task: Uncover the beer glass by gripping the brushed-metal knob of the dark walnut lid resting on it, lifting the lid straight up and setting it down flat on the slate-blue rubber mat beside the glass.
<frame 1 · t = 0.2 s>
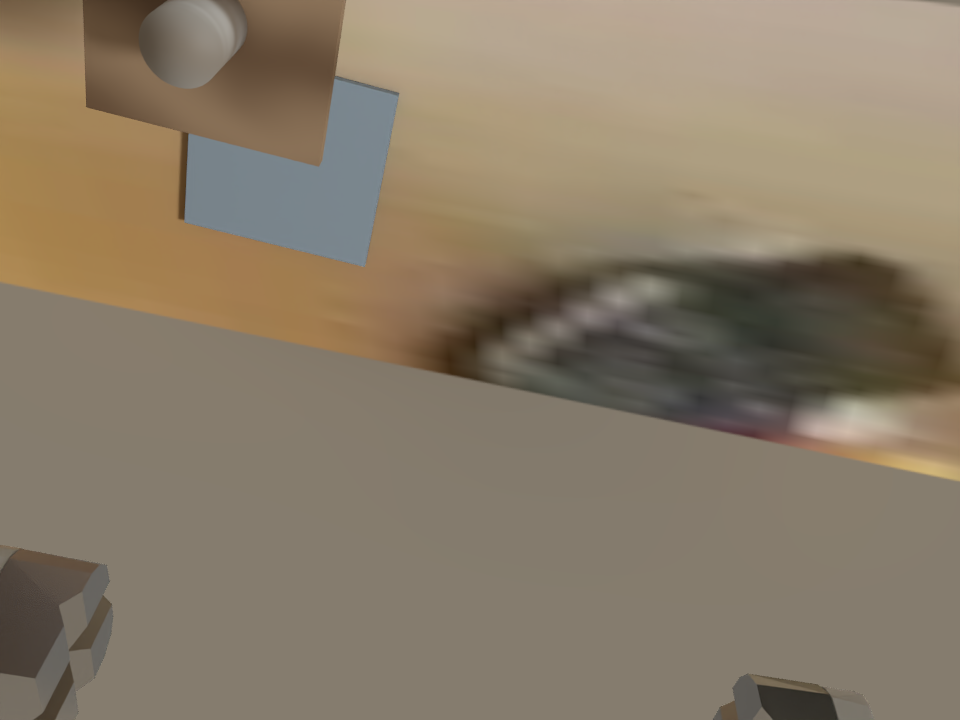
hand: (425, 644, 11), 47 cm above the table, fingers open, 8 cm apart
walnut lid: (216, 15, 38), point 15 cm above the table, touching beer glass
slate mat: (287, 159, 58), on the table
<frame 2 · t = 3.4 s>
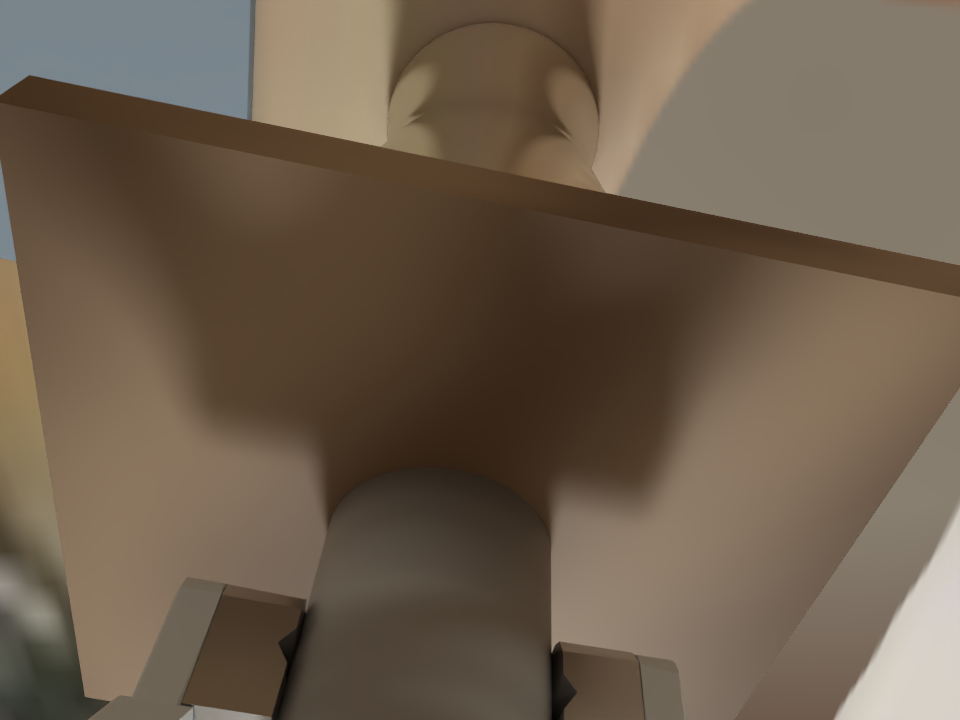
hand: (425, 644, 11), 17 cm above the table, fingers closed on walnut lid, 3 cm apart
beer glass: (493, 126, 25), on the table, touching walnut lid
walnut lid: (444, 507, 13), point 15 cm above the table, touching beer glass, gripper
slate mat: (26, 66, 25), on the table
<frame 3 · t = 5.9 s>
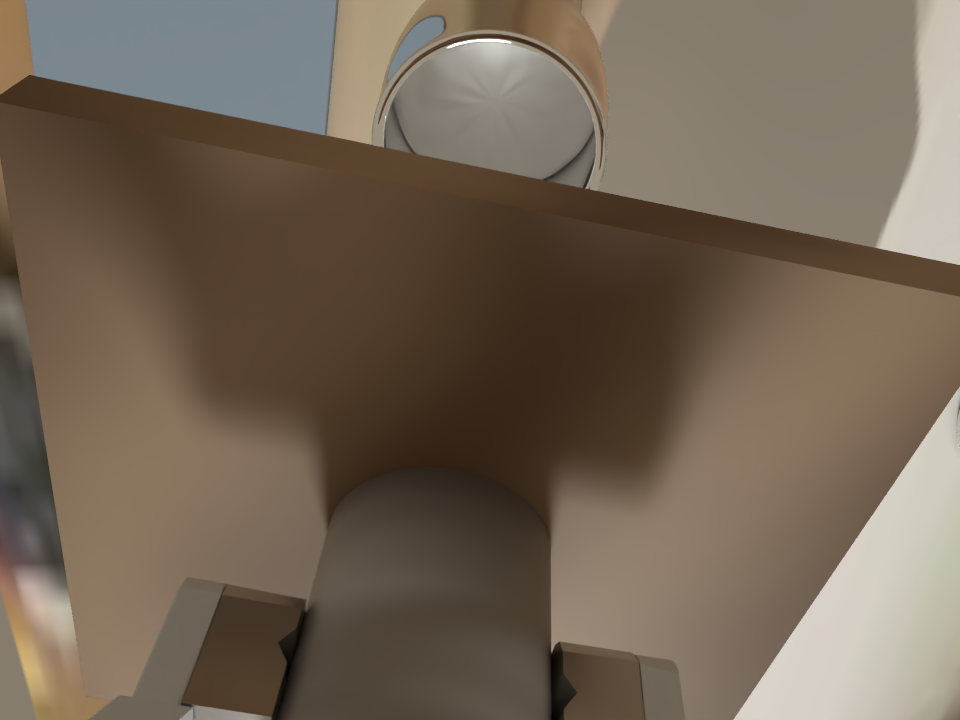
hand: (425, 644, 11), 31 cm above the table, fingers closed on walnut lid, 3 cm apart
beer glass: (507, 6, 36), on the table
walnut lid: (444, 507, 13), point 28 cm above the table, touching gripper
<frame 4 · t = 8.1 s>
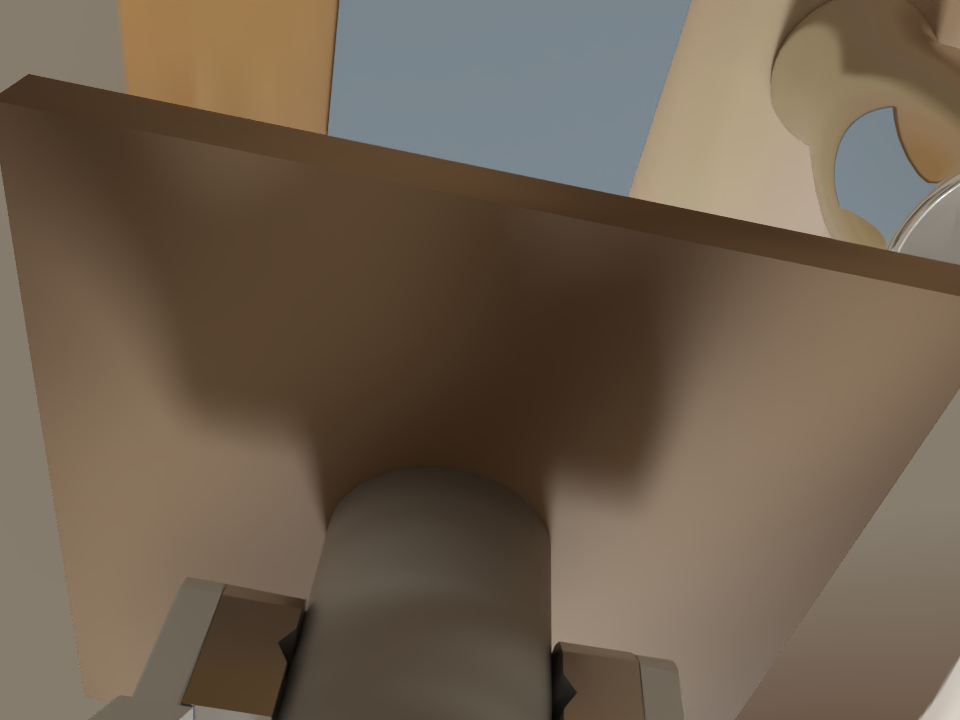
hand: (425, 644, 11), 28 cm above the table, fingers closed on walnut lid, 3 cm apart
beer glass: (848, 70, 34), on the table
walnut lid: (444, 507, 13), point 26 cm above the table, touching gripper
slate mat: (507, 25, 33), on the table
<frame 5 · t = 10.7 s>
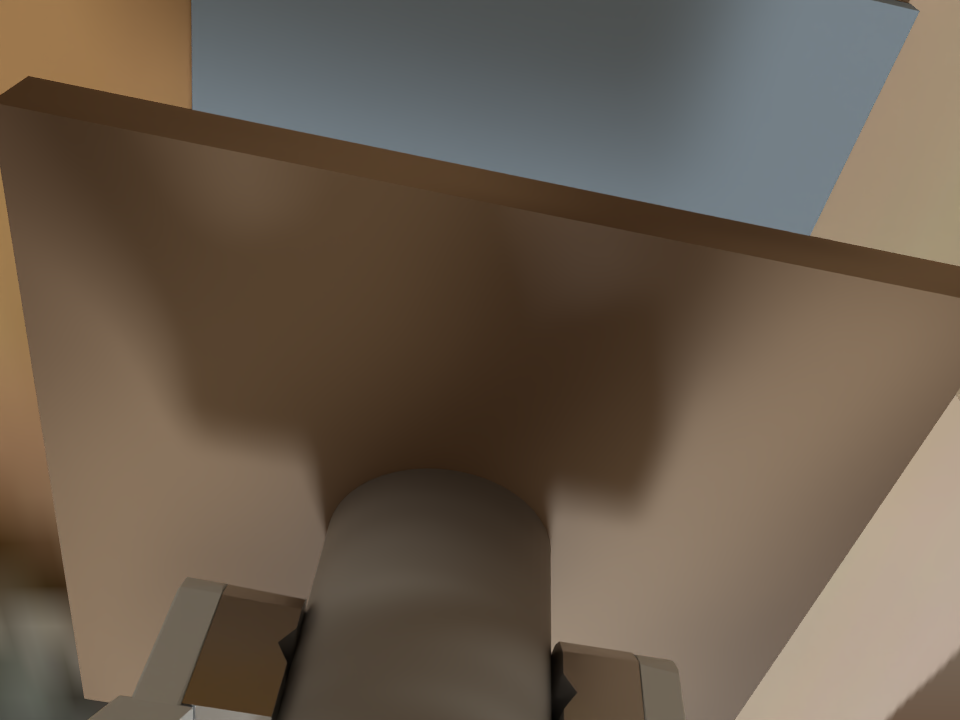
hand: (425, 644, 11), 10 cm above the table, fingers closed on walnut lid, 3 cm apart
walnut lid: (444, 509, 13), point 8 cm above the table, touching gripper
slate mat: (491, 237, 19), on the table
when the fingers open (5 cm above the table, at t = 12.8 s): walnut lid drops 2 cm, resting on slate mat.
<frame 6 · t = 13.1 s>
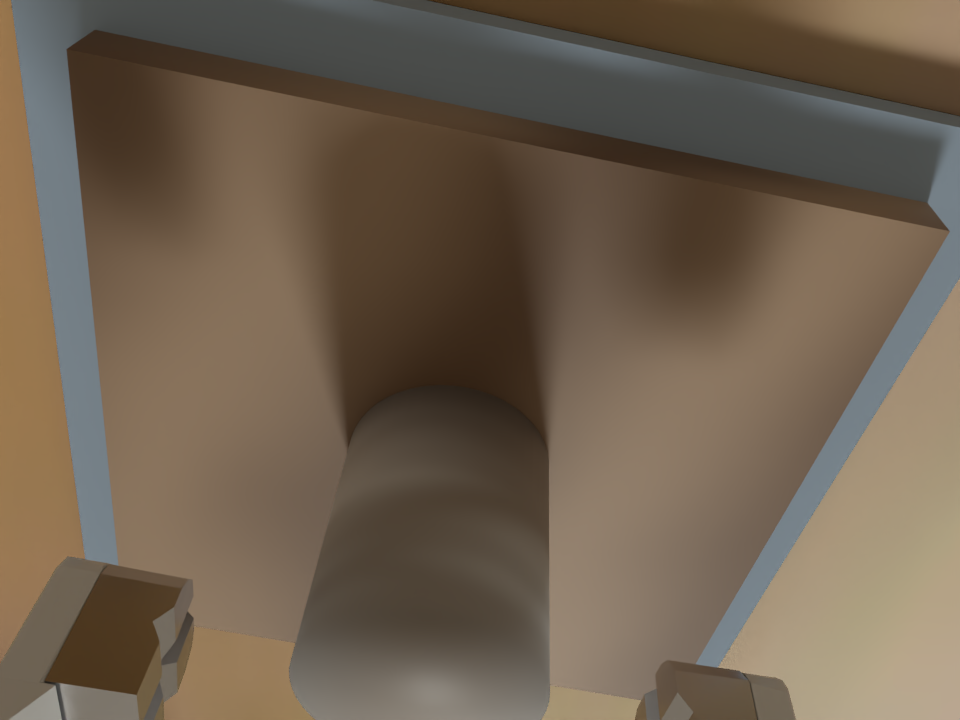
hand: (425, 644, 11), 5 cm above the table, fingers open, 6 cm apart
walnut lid: (452, 430, 14), resting on slate mat
slate mat: (454, 408, 15), on the table
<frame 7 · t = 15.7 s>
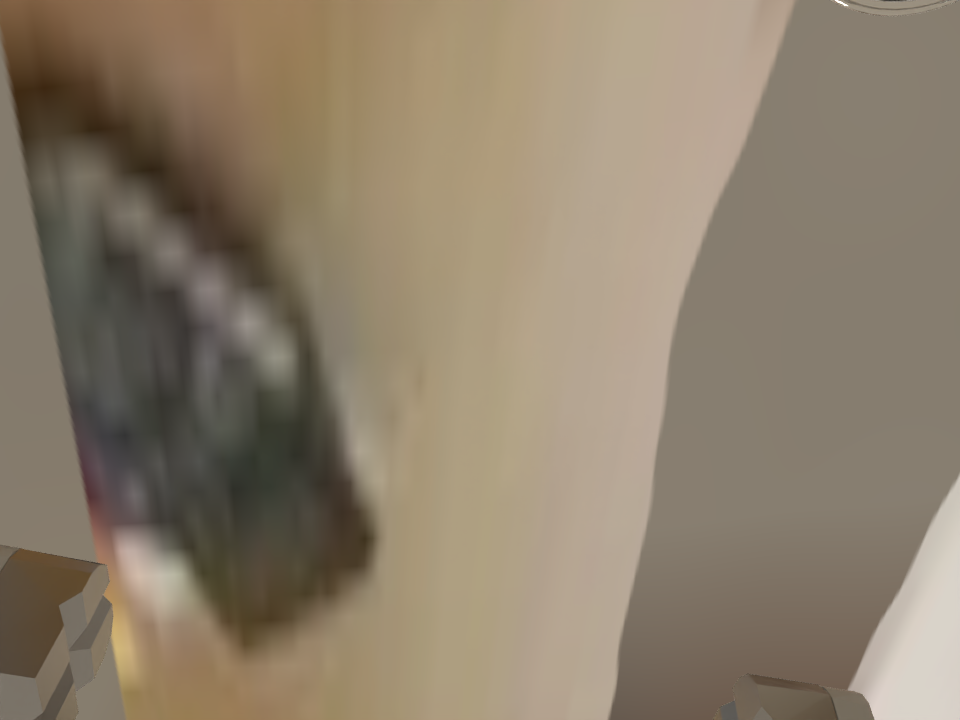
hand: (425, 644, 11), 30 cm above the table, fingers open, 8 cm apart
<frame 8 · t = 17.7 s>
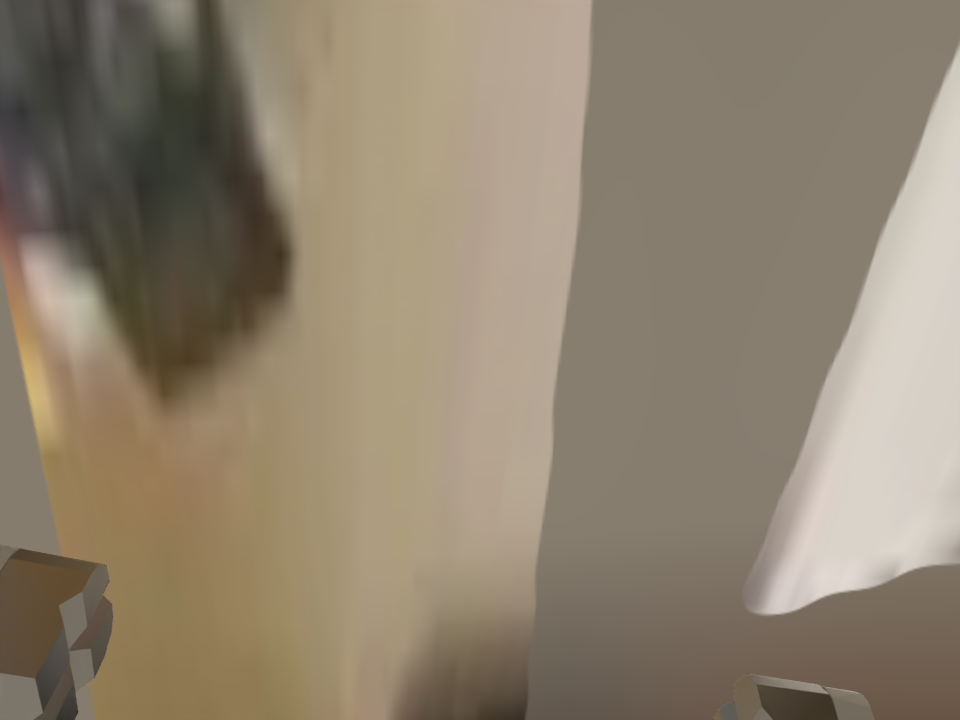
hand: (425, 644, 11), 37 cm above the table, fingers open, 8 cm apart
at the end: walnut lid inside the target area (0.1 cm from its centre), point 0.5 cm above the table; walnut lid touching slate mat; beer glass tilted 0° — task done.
